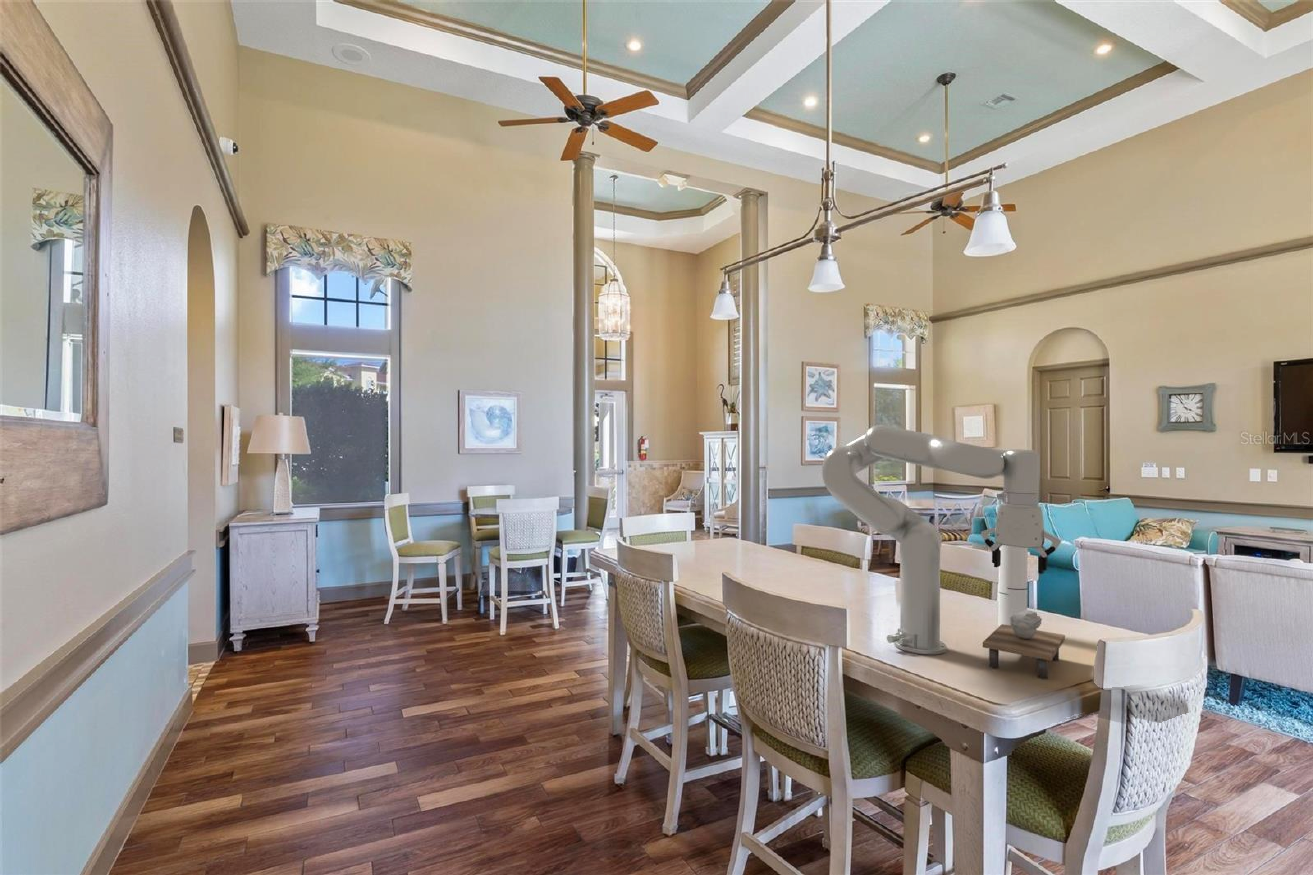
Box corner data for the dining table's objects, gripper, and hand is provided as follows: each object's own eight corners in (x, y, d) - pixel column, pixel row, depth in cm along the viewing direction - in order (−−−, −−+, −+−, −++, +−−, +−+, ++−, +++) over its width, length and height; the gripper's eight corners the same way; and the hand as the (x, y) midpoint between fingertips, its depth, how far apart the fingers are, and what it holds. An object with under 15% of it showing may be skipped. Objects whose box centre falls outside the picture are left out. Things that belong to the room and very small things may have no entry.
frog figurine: (1036, 644, 149) (1036, 615, 149) (1004, 637, 155) (1004, 608, 155) (1046, 640, 153) (1046, 611, 153) (1015, 632, 158) (1015, 604, 158)
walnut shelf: (1051, 682, 142) (1051, 655, 142) (982, 667, 151) (982, 642, 151) (1064, 659, 157) (1064, 635, 157) (1001, 647, 166) (1001, 624, 166)
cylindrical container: (1025, 636, 175) (1025, 546, 175) (996, 631, 180) (996, 543, 180) (1028, 630, 181) (1029, 542, 181) (1000, 625, 185) (1001, 540, 185)
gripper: (977, 497, 158) (976, 566, 159) (1058, 504, 147) (1056, 578, 147) (986, 496, 164) (985, 562, 164) (1065, 502, 152) (1063, 573, 152)
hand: (1018, 569), depth 155 cm, fingers open, 9 cm apart
